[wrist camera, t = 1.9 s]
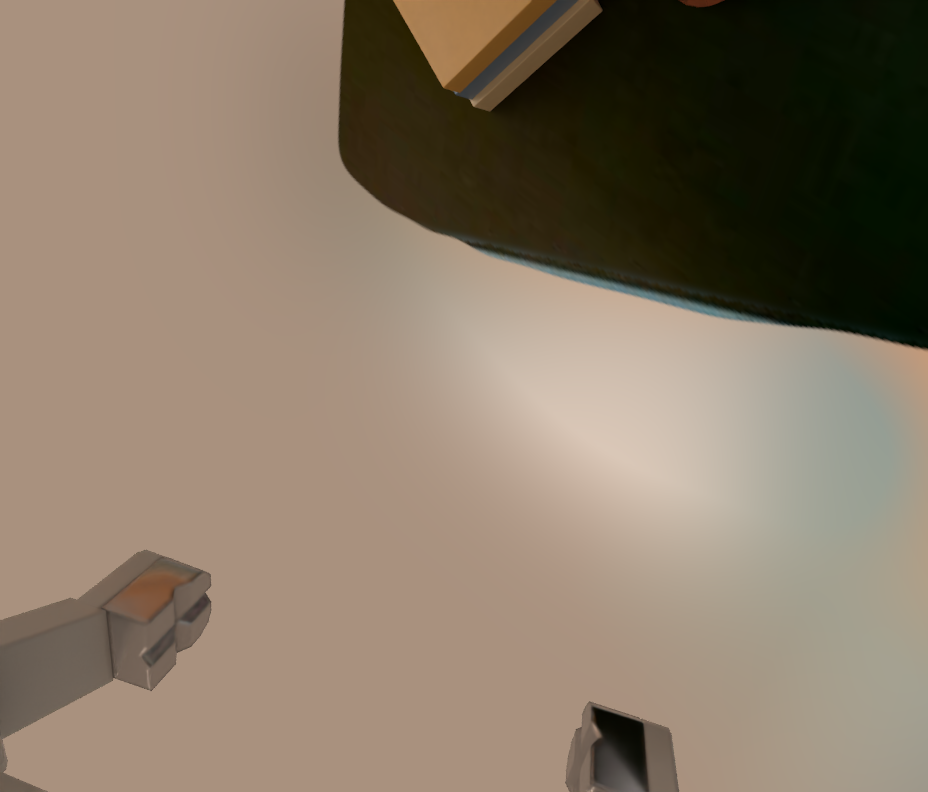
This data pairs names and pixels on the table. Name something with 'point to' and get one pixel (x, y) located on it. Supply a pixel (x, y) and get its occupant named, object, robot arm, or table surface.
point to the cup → (700, 2)
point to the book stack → (492, 40)
